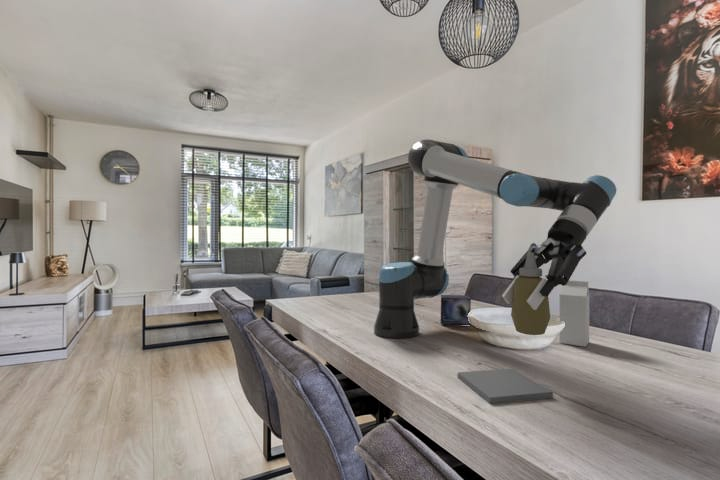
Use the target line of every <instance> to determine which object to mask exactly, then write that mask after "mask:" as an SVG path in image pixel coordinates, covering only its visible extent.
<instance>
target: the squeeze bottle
mask: <svg viewBox="0 0 720 480" xmlns="http://www.w3.org/2000/svg"><path fill="white" fill-rule="evenodd" d="M519 275H520V276H521V277H518V278H517V279H515V284H514V293H513V301H512V303H511V310H510V311H511V313H510V316H511V318H512V323H513V325H514V328H515V331H516V332H517V333H520V334H523V335H529V336H541V335H544V334H545V333H546V330H547V327H548V325H549V323H550V319H551V309H550V301H549V295H548V296H547V297H545V298H544V299H543V301H542V302H541V304H540V305H539V306H538V308H537V309H536V310H533V309H532V308H531V306H530V305H529V304H528V303H527V300H528V298H529V297H530V295H531V294H532V293H533V291H534V290H535V288H536V287H537V286H538V284H539V283H540V281H541V280H542V279H544V278H542V276H543V269H542V268H541V267H539V268H537V265H536V261H535V256H534V252H528V254H527V258H526V262H525V267H524V268H520V269H519Z"/></svg>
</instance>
